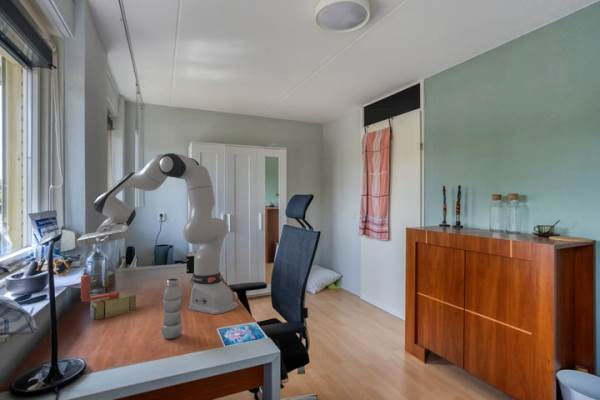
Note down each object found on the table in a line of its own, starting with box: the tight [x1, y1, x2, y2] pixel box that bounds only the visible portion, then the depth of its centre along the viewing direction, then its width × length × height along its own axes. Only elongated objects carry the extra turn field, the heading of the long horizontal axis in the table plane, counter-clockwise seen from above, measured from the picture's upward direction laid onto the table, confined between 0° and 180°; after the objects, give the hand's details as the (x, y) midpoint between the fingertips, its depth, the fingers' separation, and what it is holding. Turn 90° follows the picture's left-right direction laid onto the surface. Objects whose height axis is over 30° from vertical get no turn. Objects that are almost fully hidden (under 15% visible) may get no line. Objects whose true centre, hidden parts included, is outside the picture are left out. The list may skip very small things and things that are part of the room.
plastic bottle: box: [161, 277, 183, 340], centre depth 108 cm, size 6×7×20 cm
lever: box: [80, 274, 121, 303], centre depth 127 cm, size 14×4×10 cm, turn 134°
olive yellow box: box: [89, 291, 137, 320], centre depth 130 cm, size 16×8×7 cm, turn 141°
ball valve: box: [185, 250, 198, 284], centre depth 178 cm, size 18×8×18 cm, turn 15°
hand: (100, 242), depth 133 cm, fingers closed
